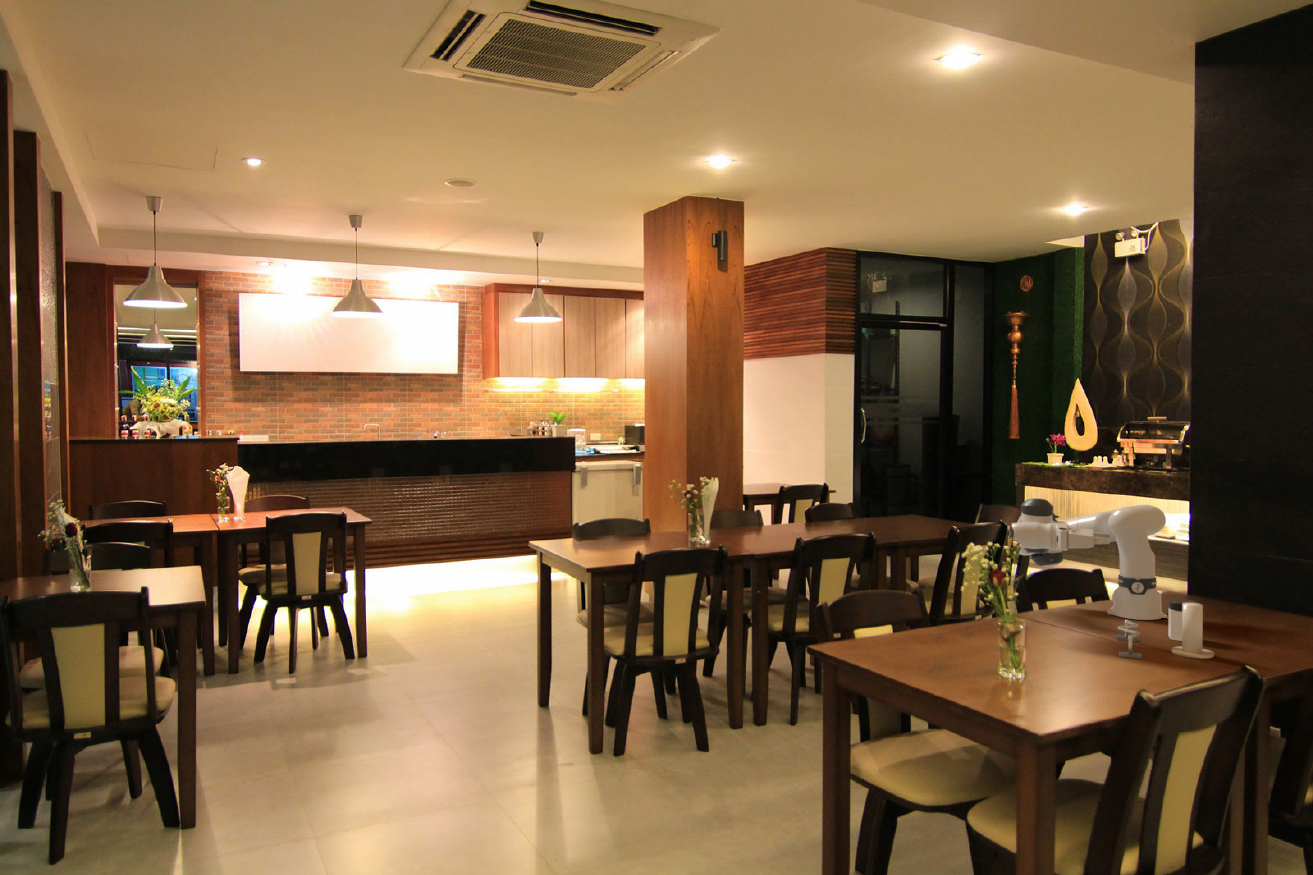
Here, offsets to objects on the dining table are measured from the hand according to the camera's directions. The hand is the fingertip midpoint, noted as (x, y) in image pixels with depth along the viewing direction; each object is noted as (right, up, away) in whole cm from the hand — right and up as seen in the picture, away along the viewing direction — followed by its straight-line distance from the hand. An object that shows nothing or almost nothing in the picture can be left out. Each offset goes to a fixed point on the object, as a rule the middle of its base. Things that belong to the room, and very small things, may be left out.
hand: (1110, 539), depth 286 cm
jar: (+24, -32, +1) cm, 40 cm away
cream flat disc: (+16, -32, -17) cm, 40 cm away
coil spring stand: (+1, -32, -10) cm, 34 cm away
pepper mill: (+16, -31, -17) cm, 39 cm away
